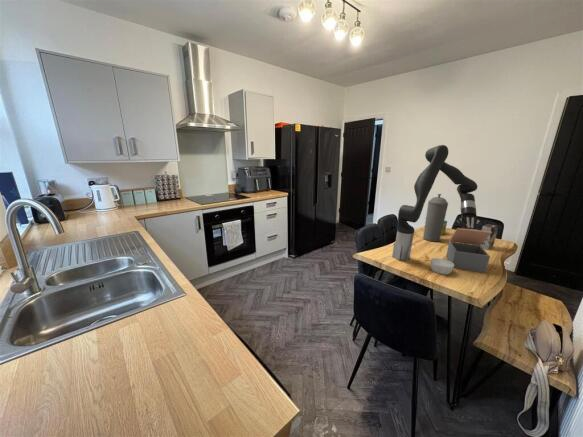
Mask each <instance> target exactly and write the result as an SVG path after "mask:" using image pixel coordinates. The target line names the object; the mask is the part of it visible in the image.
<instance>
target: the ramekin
mask: <svg viewBox="0 0 583 437" xmlns="http://www.w3.org/2000/svg"><path fill="white" fill-rule="evenodd" d="M429 262H430V268H431V270H432V271H433V272H434V273H436V274H440V275H450V274H452V271H453V269H454V268H453V267H454V263H452V262H451V261H449V260H448V259H447V258H446V259H445V258H439V257H435V258H434V257H433V258H431V259H430V261H429Z"/></svg>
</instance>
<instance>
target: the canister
mask: <svg viewBox="0 0 583 437" xmlns="http://www.w3.org/2000/svg"><path fill="white" fill-rule="evenodd" d="M441 195H442V193H437V196H435V197H432V198H431V199H429V200H428V202H427V209H426V215H425V216H426V217H425V222H424V230H423V236H422V237H423V239H424V240H425V241H428V242H439V241H440V239H441V236H442V235H441V232H442V228H443V224H444V220H445V221H446V216H447V215H446V214H447V210H448V206H449V202H448V201H447V199H446V198H444V197H441Z"/></svg>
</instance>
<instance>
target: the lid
mask: <svg viewBox="0 0 583 437" xmlns="http://www.w3.org/2000/svg"><path fill="white" fill-rule="evenodd" d="M491 233H492V232H491V231H482V229H481V230H480V229H475V230H474V229H465V228H462V227H461V228H460V227H457V228H456V229H455V231H454V232H453V233H452V235H451V236H450V238H449V240H448V241H449V242H454V243H462V244H470V245H477V246H478V245H481V244H482V243H483V242H484V241H485V240H486V239H487V238H488V237H489V235H490V234H491ZM449 242H448V243H449Z"/></svg>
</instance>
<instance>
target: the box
mask: <svg viewBox="0 0 583 437" xmlns="http://www.w3.org/2000/svg"><path fill="white" fill-rule="evenodd" d="M485 250H486V249H483V248H482V247H481V246H478V245H472V244H464V243H457V242H448V245H447V251H446V255H445V257H446V260H449V261H451V262H452V263H454V267H453V269H454V268H455V269H460V270H465V271H466V270H467V271H472V272H479V273H484V274H486V273H487V269H488V265H489V263H490V262H489V261H490V258H491V255H489V253H487V251H485Z"/></svg>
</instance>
